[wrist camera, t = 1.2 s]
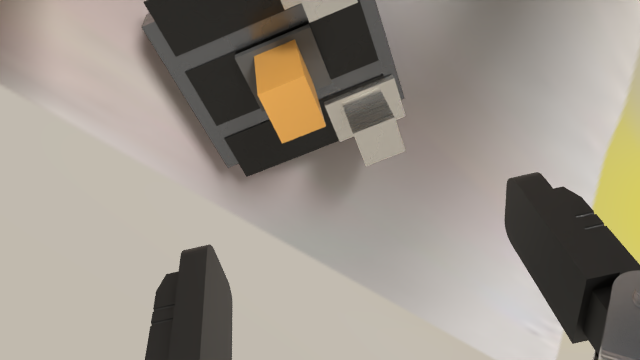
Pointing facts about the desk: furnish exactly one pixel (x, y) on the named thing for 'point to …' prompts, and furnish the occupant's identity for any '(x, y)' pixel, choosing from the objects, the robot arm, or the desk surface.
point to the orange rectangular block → (287, 81)
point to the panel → (236, 96)
